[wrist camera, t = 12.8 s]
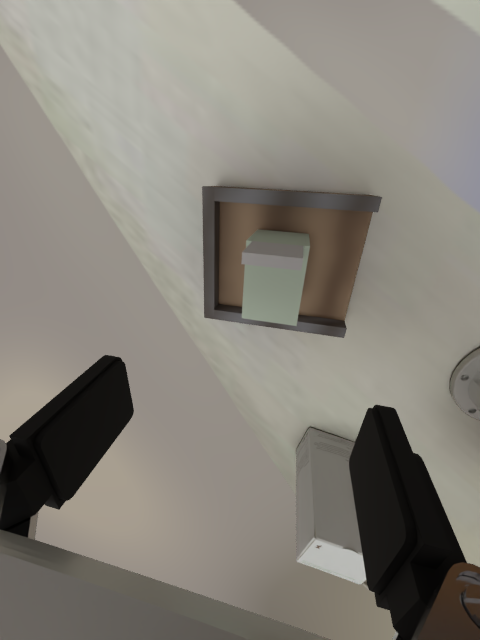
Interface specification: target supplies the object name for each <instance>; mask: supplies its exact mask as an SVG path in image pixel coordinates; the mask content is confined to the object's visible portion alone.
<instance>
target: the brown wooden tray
mask: <svg viewBox="0 0 480 640" xmlns="http://www.w3.org/2000/svg"><path fill="white" fill-rule="evenodd" d="M202 195H203V256H204V317H205V318H211V319H218V320H225V321H231V322H238V323H245V324H252V325H259V326H266V327H273V328H280V329H287V330H293V331H300V332H307V333H314V334H321V335H328V336H335V337H342V338H344V336H345V332H346V329H347V328H346V325H345V321H344V320H345V316H346V313H347V309H348V305H349V301H350V297H351V294H352V290H353V286H354V282H355V278H356V274H357V271H358V267H359V263H360V259H361V255H362V251H363V248H364V244H365V240H366V236H367V232H368V228H369V225H370V221H371V217H372V213H373V212H378V210H379V206H380V203H381V199H382V197H378V196H372V195H359V194H342V193H325V192H308V191H291V190H273V189H256V188H239V187H222V186H203V187H202ZM258 229H259V230H260V229H261V230H271V231H282V232H294V233H307V234H309V240H310V250H309V256H308V261H307V267H306V273H305V279H304V285H303V291H302V296H301V302H300V308H299V314H298V320H297V326H292V325H285V324H278V323H272V322H265V321H258V320H251V319H244V318H242V303H243V286H244V270H245V264H241V263H242V252H243V251H244V250H245V249H246V240H247V239H248V238H249V237H250V236H251V235H252V234H254V233H255V232H256V231H257V230H258Z"/></svg>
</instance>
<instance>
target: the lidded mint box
mask: <svg viewBox="0 0 480 640" xmlns="http://www.w3.org/2000/svg"><path fill="white" fill-rule="evenodd" d="M309 250H310V240H309V234H307V233H294V232H282V231H271V230H261V229H260V230H259V229H258V230H257V231H256V232H255V233H254V234H252V235H251V236H250V237H249V238H248V239H247V240H246V249H245V250H244V251H243V252H242V263H241V264H245V270H244V286H243V303H242V318H244V319H251V320H258V321H265V322H272V323H278V324H285V325H292V326H297V320H298V314H299V308H300V302H301V296H302V291H303V285H304V279H305V273H306V267H307V261H308V256H309Z"/></svg>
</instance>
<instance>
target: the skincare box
mask: <svg viewBox="0 0 480 640" xmlns="http://www.w3.org/2000/svg"><path fill="white" fill-rule="evenodd" d="M354 444H355V442H352V441H349V440H346V439H343V438H340V437H337V436H334V435H331V434H328V433H325V432H322V431H320V430H317V429H314V428H311V427H310V428H309V429H308V430H307V432H306V434H305V436H304V437H303V439H302V441H301V443H300V444H299V446H298V448H297V450H296V541H297V543H296V548H297V549H296V553H297V557H296V561H297V562H299V563H302V564H305V565H308V566H311V567H313V568H316V569H319V570H322V571H325V572H327V573H330V574H333V575H336V576H339V577H341V578H344V579H347V580H349V581H352V582H354V583H357V584H361V583H363V582H364V581H365V580H366V574H365V567H364V561H363V554H362V548H361V541H360V535H359V529H358V522H357V516H356V509H355V503H354V496H353V490H352V483H351V477H350V470H349V458H350V455H351V452H352V450H353V447H354Z"/></svg>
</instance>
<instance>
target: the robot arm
mask: <svg viewBox="0 0 480 640" xmlns="http://www.w3.org/2000/svg"><path fill="white" fill-rule="evenodd" d="M450 391H451V395H452V397H453V399H454V400H455V402H456V404H457V405H458V406H459V407H460V409H461V410H462V411H463V412H465V413H466V414H467V415H469V416H471V417H473V418H475V419H477V420H480V348H479V349H477V350H476V351H474V352H472V353H471V354H470V355H468V356H467V357H466V358H465V359H464V360H463V361H462V362H461V363H460V364H459V365H458V366H457V368H456V369H455V371H454V373H453V375H452V378H451V381H450ZM133 412H134V410H133V403H132V398H131V393H130V388H129V383H128V377H127V372H126V367H125V363H124V362H122V359H121V358H119V357H115V356H108V355H105V356H103V357H102V358H101V359H99V360H98V361H97V362H96V363H95V364H93V365H92V366H91V367H90V368H89V369H88V370H86V371H85V372H84V373H83V374H82V375H80V376H79V377H78V378H77V379H76V380H75V381H73V382H72V383H71V384H70V385H69V386H68V387H66V388H65V389H64V390H63V391H62V392H60V393H59V394H58V395H57V396H56V397H55V398H53V399H52V400H51V401H50V402H49V403H47V404H46V405H45V406H44V407H43V408H42V409H40V410H39V411H38V412H37V413H36V414H35V415H33V416H32V417H31V418H30V419H29V420H27V421H26V422H25V423H24V424H23V425H21V426H20V427H19V428H18V429H17V430H16V431H15V432H13V433H12V434H11V435H10V438H11V440H10V441H9V442H7V443H5V442H4V441H3V440H1V439H0V640H331V639H328V638H325V637H322V636H319V635H317V634H314V633H311V632H308V631H306V630H303V629H300V628H297V627H294V626H291V625H289V624H286V623H283V622H280V621H277V620H274V619H271V618H268V617H265V616H262V615H259V614H256V613H253V612H250V611H247V610H244V609H241V608H238V607H235V606H232V605H229V604H227V603H224V602H221V601H218V600H214V599H212V598H209V597H206V596H203V595H200V594H197V593H194V592H191V591H188V590H185V589H182V588H179V587H176V586H173V585H170V584H167V583H164V582H161V581H158V580H155V579H152V578H149V577H146V576H143V575H140V574H137V573H134V572H131V571H128V570H125V569H122V568H119V567H116V566H113V565H110V564H107V563H104V562H101V561H98V560H94V559H92V558H89V557H86V556H82V555H79V554H76V553H73V552H70V551H67V550H64V549H61V548H58V547H55V546H52V545H49V544H46V543H43V542H40V541H37V540H35V533H36V526H37V518H38V511H39V510H40V509H41V507H42V506H43V505H44V504H45V505H46V506H49V507H53V508H56V509H60V508H61V506H62V505H63V504H64V502H65V501H66V500H69V499H71V498H72V497H73V496H74V494H75V493H76V491H77V490H78V489H79V487H80V486H81V485H82V483H83V482H84V481H85V480H86V478H87V477H88V476H89V474H90V473H91V472H92V470H93V469H94V468H95V466H96V465H97V464H98V462H99V461H100V459H101V458H102V457H103V455H104V454H105V453H106V452H107V450H108V449H109V448H110V446H111V445H112V443H113V442H114V441H115V439H116V438H117V436H118V435H119V434H120V433H121V431H122V430H123V429H124V427H125V426H126V425H127V423H128V422H129V421H130V419H131V418H132V415H133ZM349 470H350V477H351V483H352V490H353V496H354V503H355V509H356V516H357V522H358V529H359V535H360V541H361V548H362V554H363V561H364V567H365V574H366V580H367V585H368V588H369V590H370V591H372V592H375V598H376V604H377V607H381V608H384V609H387V610H390V613H391V618H392V623H393V627H394V629H395V630H396V633H395V635H394V637H393V639H392V640H480V567H478V566H476V565H473V564H469V563H467V562H466V560H465V557H464V555H463V553H462V550H461V548H460V546H459V543H458V541H457V539H456V536H455V534H454V532H453V529H452V527H451V525H450V522H449V520H448V518H447V515H446V513H445V511H444V508H443V506H442V503H441V501H440V499H439V496H438V494H437V492H436V489H435V487H434V485H433V482H432V480H431V478H430V475H429V473H428V471H427V468H426V466H425V464H424V462H423V460H422V458H421V457H420V456H419V455H418V454H415V453H413V452H412V449H411V447H410V444H409V442H408V439H407V437H406V434H405V432H404V429H403V427H402V424H401V422H400V419H399V417H398V414H397V412H396V410H395V409H394V408H391V407H385V406H380V405H375V406H374V407H373V408H368V410H367V412H366V415H365V418H364V420H363V423H362V426H361V428H360V431H359V434H358V436H357V439H356V442H355V444H354V447H353V450H352V452H351V455H350V458H349Z"/></svg>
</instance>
